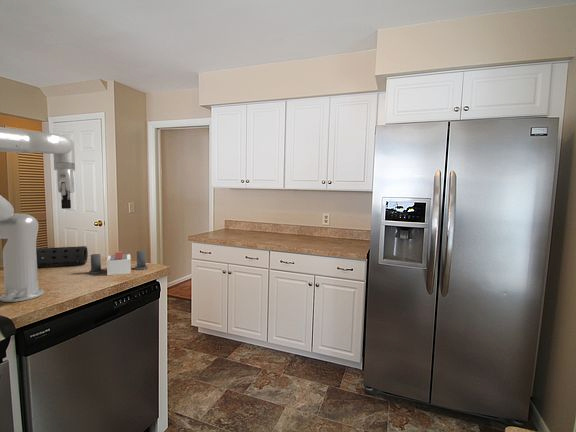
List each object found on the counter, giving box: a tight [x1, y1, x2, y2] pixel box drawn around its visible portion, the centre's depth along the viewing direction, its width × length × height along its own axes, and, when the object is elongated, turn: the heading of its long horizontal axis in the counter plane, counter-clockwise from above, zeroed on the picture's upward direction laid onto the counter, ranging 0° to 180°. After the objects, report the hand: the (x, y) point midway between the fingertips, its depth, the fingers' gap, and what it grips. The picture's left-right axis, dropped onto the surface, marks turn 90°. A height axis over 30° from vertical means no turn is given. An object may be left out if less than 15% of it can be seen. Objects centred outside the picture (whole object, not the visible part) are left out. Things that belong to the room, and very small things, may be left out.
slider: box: [114, 251, 123, 259], centre depth 148 cm, size 2×3×3 cm
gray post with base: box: [88, 253, 104, 275], centre depth 149 cm, size 6×6×9 cm
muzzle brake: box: [36, 245, 89, 269], centre depth 159 cm, size 10×28×10 cm, turn 111°
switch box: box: [106, 253, 132, 276], centre depth 153 cm, size 12×10×7 cm
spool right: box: [134, 250, 149, 271], centre depth 158 cm, size 6×6×9 cm
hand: (66, 208), depth 137 cm, fingers closed
